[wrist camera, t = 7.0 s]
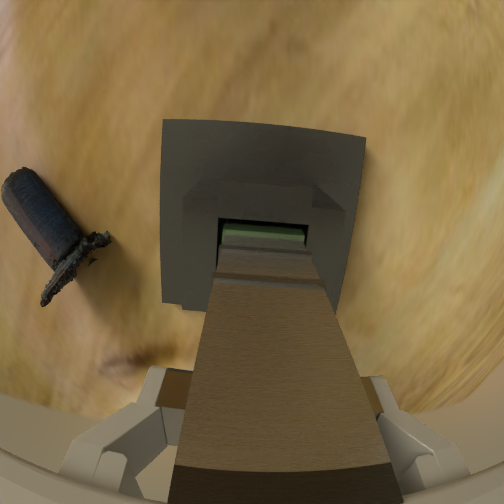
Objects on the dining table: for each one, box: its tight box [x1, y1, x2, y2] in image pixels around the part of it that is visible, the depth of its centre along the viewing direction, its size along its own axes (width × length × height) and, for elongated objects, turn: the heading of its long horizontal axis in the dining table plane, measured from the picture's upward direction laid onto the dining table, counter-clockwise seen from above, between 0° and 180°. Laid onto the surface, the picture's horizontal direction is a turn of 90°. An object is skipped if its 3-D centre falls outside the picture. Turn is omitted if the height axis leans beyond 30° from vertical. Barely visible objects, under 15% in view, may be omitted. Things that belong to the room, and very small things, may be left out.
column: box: [167, 218, 404, 504], centre depth 12 cm, size 4×4×17 cm
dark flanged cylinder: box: [1, 167, 112, 307], centre depth 25 cm, size 9×8×12 cm
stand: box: [160, 119, 366, 314], centre depth 23 cm, size 16×16×10 cm
